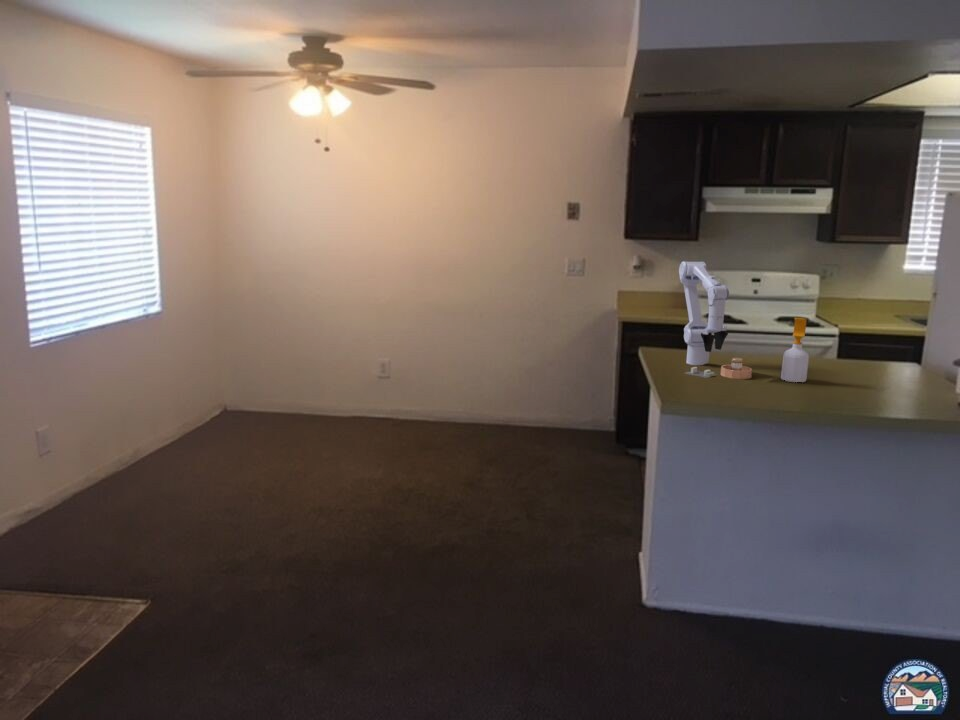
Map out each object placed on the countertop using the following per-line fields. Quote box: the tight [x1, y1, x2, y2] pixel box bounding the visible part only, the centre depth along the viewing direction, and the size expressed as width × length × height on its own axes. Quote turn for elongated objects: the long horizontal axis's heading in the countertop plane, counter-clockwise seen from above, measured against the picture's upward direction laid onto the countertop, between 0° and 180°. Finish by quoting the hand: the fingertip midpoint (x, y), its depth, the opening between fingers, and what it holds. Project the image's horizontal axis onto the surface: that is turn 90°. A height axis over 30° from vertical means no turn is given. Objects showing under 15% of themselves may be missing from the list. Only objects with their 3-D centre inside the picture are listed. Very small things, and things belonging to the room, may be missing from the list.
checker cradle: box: [684, 366, 717, 379], centre depth 283 cm, size 8×10×3 cm
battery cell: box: [730, 357, 743, 371], centre depth 281 cm, size 4×4×7 cm
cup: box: [720, 364, 753, 380], centre depth 281 cm, size 11×11×4 cm
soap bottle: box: [780, 317, 810, 383], centre depth 278 cm, size 9×9×25 cm
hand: (713, 350), depth 286 cm, fingers open, 7 cm apart
